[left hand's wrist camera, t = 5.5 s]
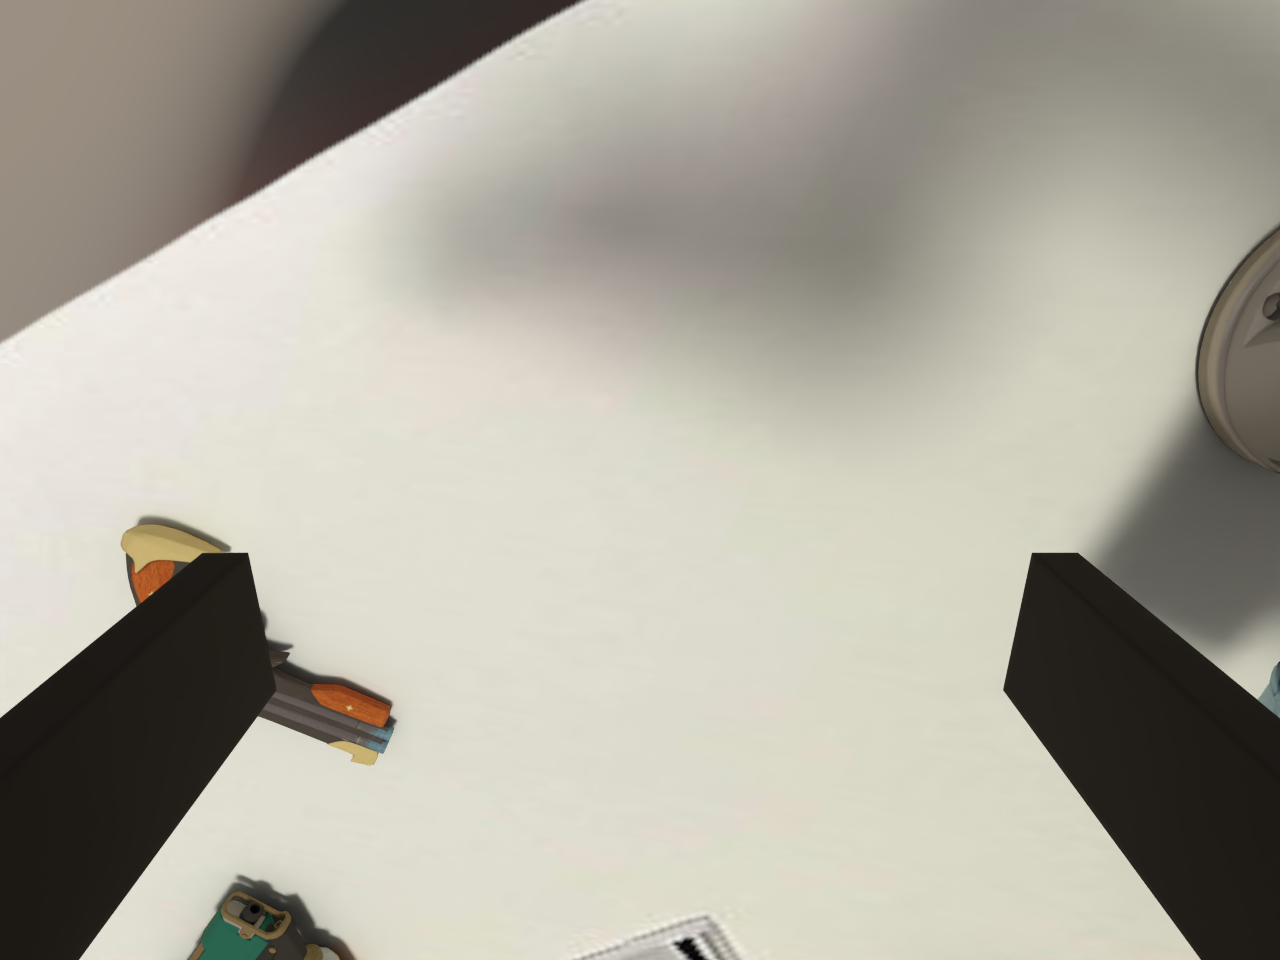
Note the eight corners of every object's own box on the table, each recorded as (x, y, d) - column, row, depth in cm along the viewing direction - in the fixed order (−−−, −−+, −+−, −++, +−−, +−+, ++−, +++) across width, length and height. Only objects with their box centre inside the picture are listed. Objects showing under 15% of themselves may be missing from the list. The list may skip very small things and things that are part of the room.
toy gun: (119, 524, 41) (59, 667, 43) (438, 655, 46) (370, 779, 48) (144, 508, 44) (86, 644, 46) (444, 634, 48) (379, 752, 50)
